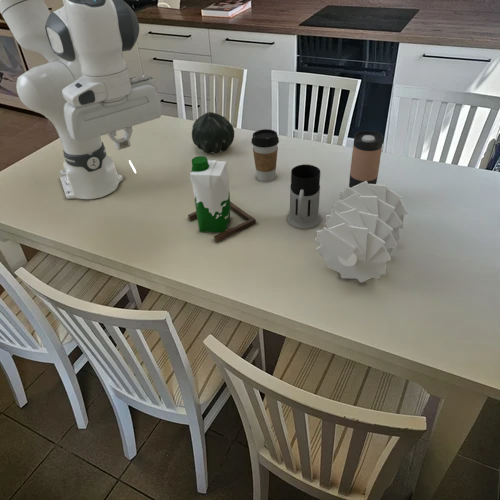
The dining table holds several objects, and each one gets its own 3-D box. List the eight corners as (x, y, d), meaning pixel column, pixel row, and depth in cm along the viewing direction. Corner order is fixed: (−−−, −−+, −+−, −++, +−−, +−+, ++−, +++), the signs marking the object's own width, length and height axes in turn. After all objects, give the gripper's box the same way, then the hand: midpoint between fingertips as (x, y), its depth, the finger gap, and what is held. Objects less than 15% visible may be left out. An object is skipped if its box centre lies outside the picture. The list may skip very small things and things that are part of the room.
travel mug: (376, 196, 132) (386, 132, 120) (370, 209, 127) (380, 144, 114) (350, 191, 135) (358, 128, 122) (343, 204, 130) (350, 140, 117)
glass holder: (321, 211, 127) (324, 164, 118) (315, 242, 117) (318, 192, 107) (290, 209, 129) (291, 162, 120) (282, 238, 118) (282, 189, 109)
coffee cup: (248, 181, 142) (246, 137, 133) (258, 169, 148) (257, 125, 139) (273, 185, 140) (273, 140, 130) (282, 172, 146) (282, 129, 136)
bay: (188, 219, 127) (187, 214, 126) (226, 202, 133) (225, 198, 132) (216, 242, 118) (216, 238, 117) (256, 223, 124) (255, 219, 123)
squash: (221, 120, 167) (197, 98, 155) (248, 133, 159) (225, 111, 147) (201, 153, 168) (175, 133, 156) (226, 167, 160) (202, 148, 147)
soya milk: (203, 215, 128) (194, 151, 116) (234, 217, 127) (229, 152, 115) (195, 233, 122) (185, 167, 109) (228, 235, 120) (221, 169, 108)
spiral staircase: (382, 245, 120) (360, 304, 102) (327, 209, 122) (296, 261, 103) (426, 197, 108) (410, 255, 90) (364, 158, 109) (335, 206, 91)
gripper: (147, 69, 97) (158, 129, 106) (53, 92, 88) (73, 156, 96) (161, 75, 93) (171, 138, 101) (64, 101, 84) (84, 167, 92)
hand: (123, 147), depth 99 cm, fingers closed
